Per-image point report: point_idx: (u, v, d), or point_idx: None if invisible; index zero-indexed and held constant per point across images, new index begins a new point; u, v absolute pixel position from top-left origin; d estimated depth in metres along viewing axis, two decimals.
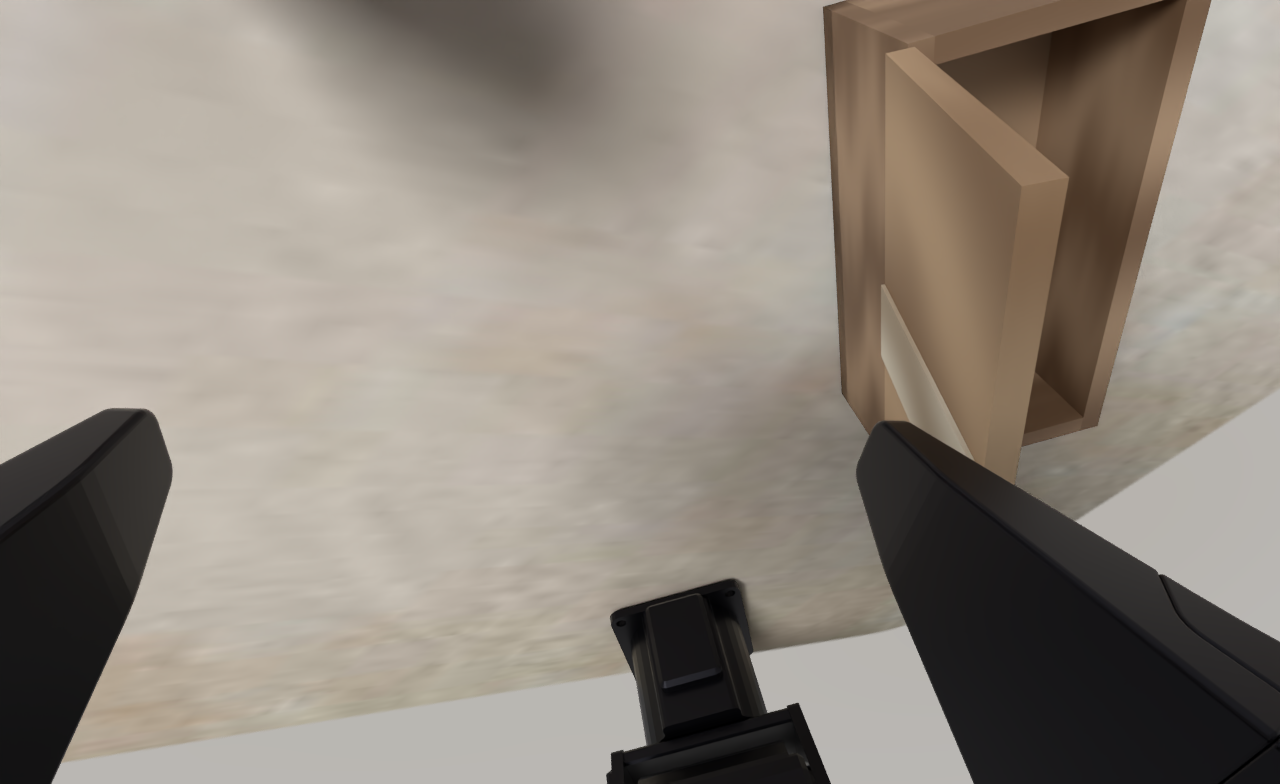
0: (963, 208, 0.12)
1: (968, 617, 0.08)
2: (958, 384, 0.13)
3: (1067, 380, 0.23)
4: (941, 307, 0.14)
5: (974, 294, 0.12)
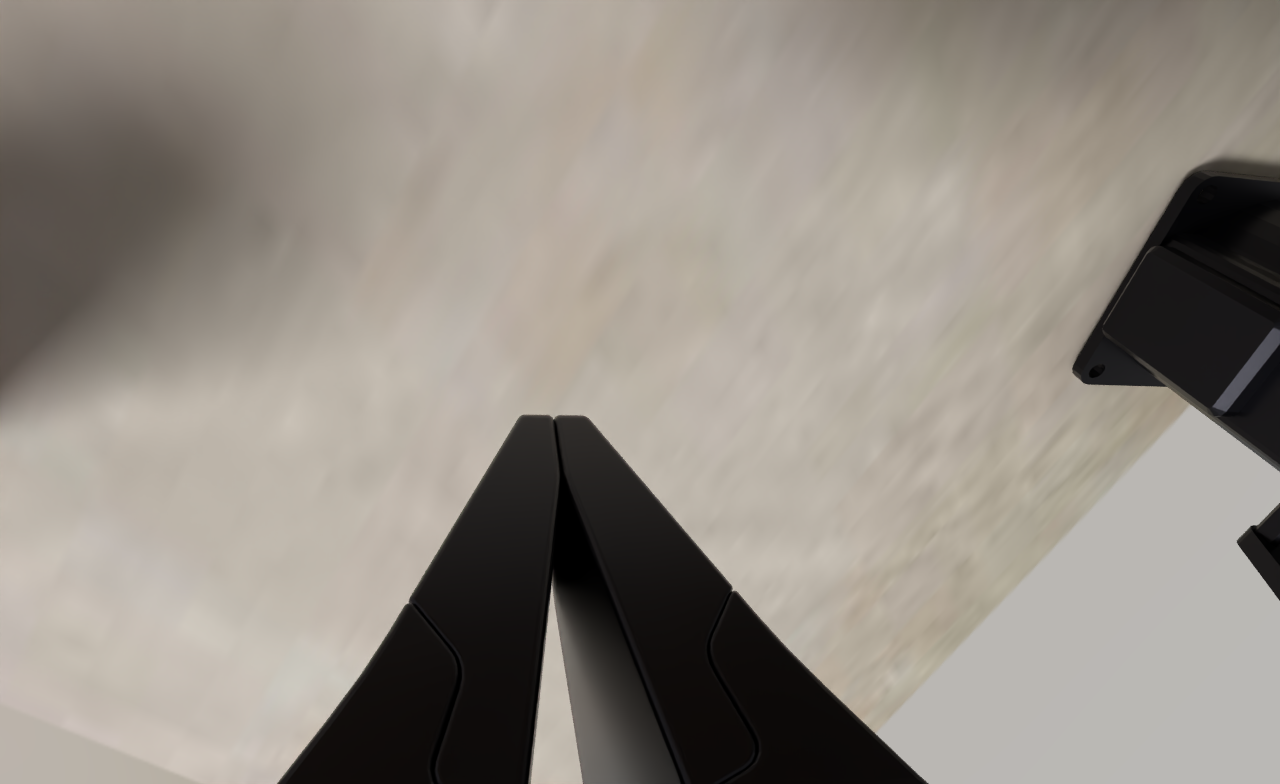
0: None
1: (579, 637, 0.07)
2: None
3: None
4: None
5: None
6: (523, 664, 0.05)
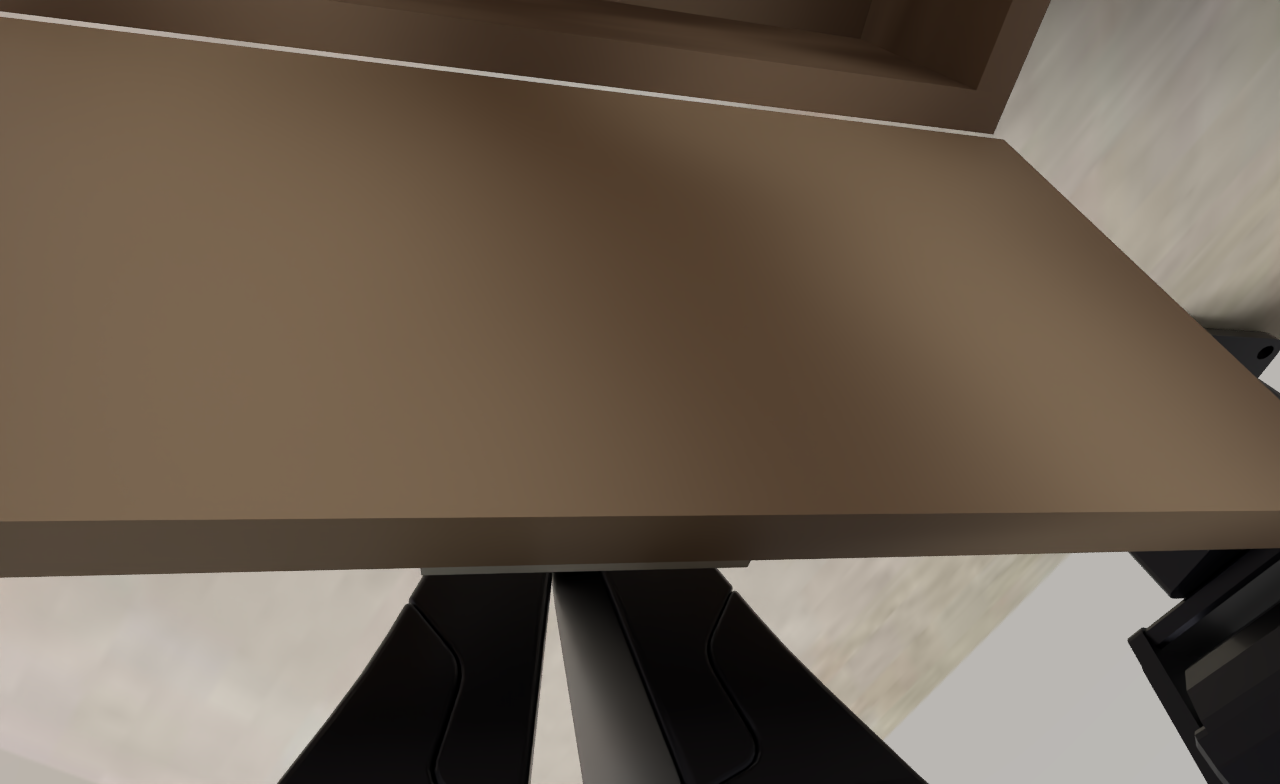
0: None
1: (579, 636, 0.07)
2: None
3: None
4: None
5: None
6: (523, 664, 0.05)
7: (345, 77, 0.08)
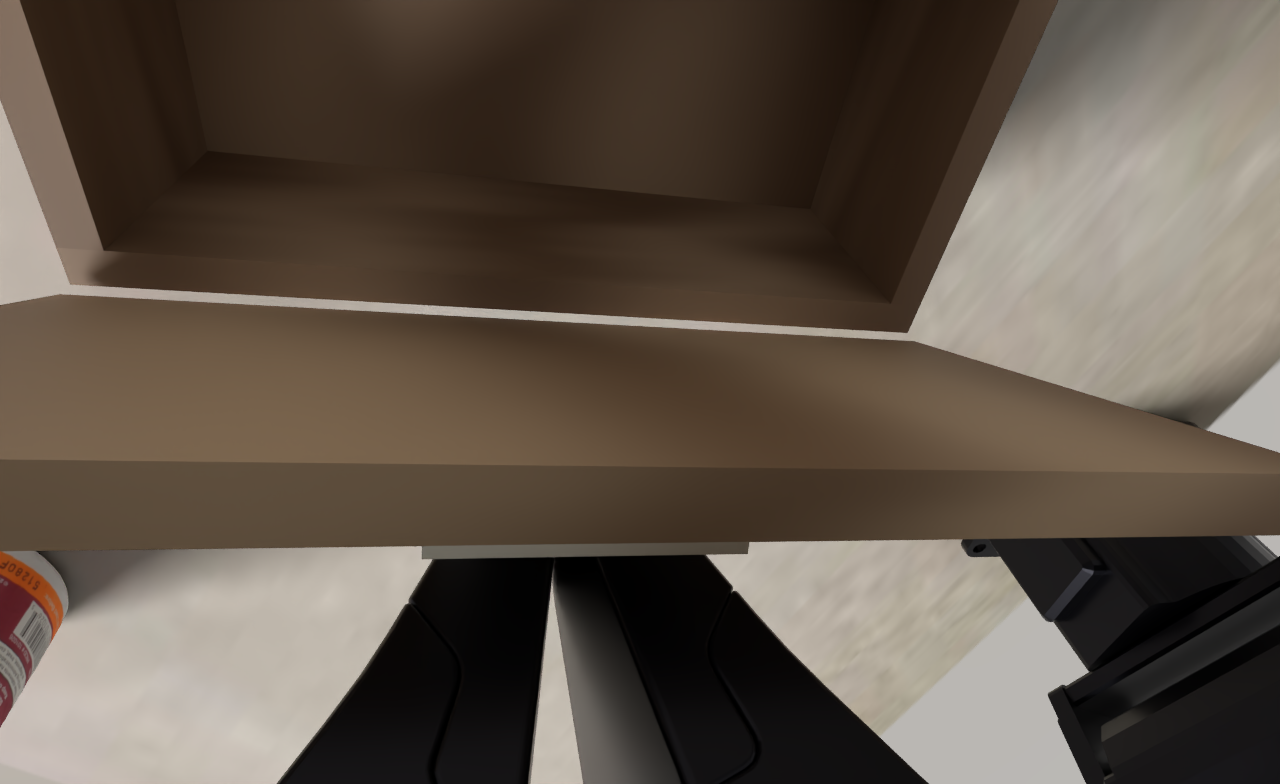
0: None
1: (579, 637, 0.07)
2: None
3: None
4: None
5: None
6: (523, 664, 0.05)
7: (369, 316, 0.10)
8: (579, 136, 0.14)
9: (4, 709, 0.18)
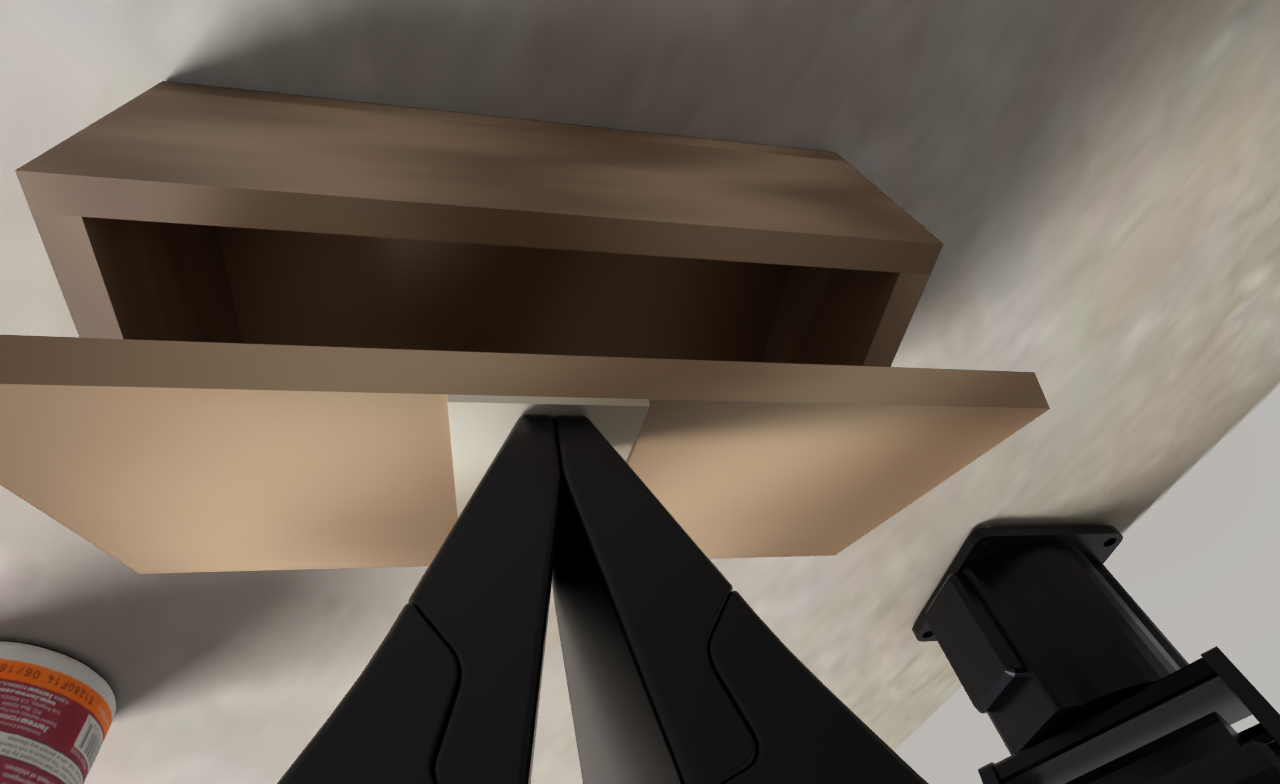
0: (80, 461, 0.09)
1: (579, 636, 0.07)
2: (373, 449, 0.09)
3: None
4: (307, 484, 0.10)
5: (164, 435, 0.08)
6: (523, 664, 0.05)
7: None
8: (555, 348, 0.17)
9: None
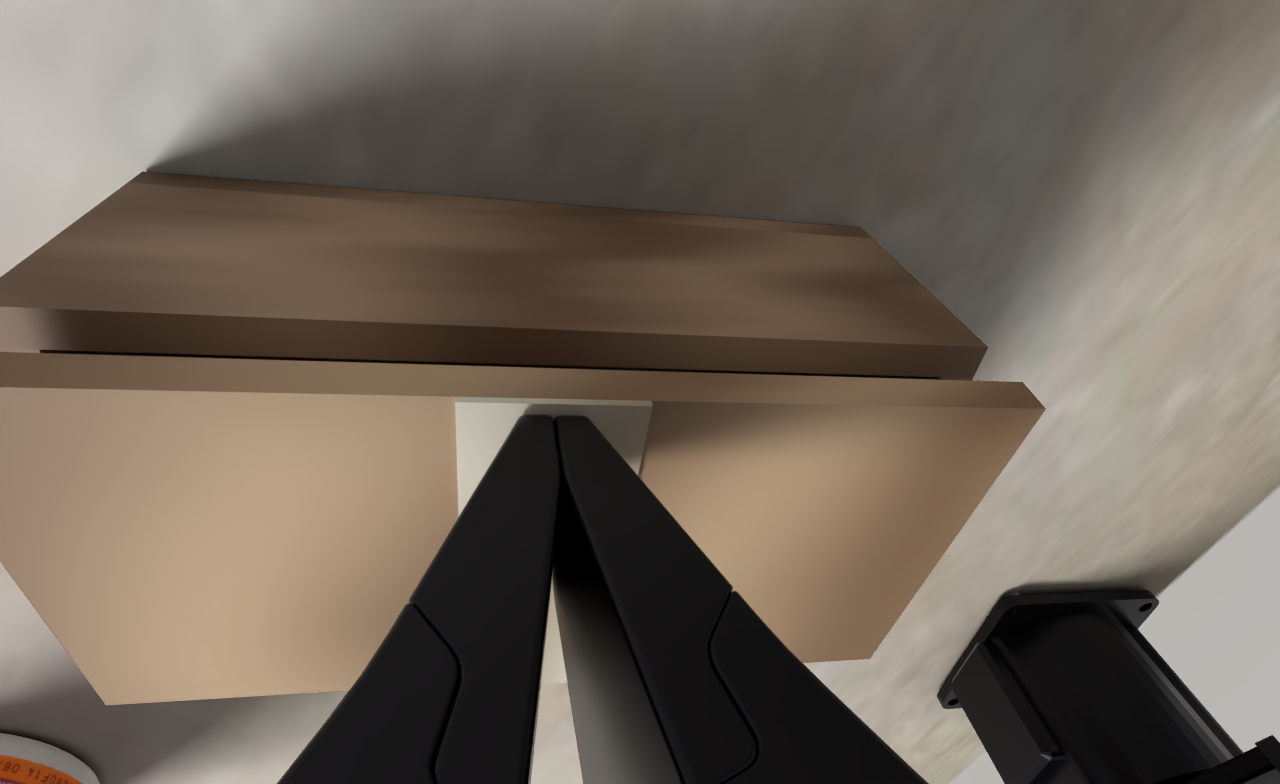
0: (79, 507, 0.09)
1: (579, 636, 0.07)
2: (377, 483, 0.09)
3: None
4: (306, 541, 0.10)
5: (171, 463, 0.08)
6: (523, 664, 0.05)
7: None
8: None
9: None
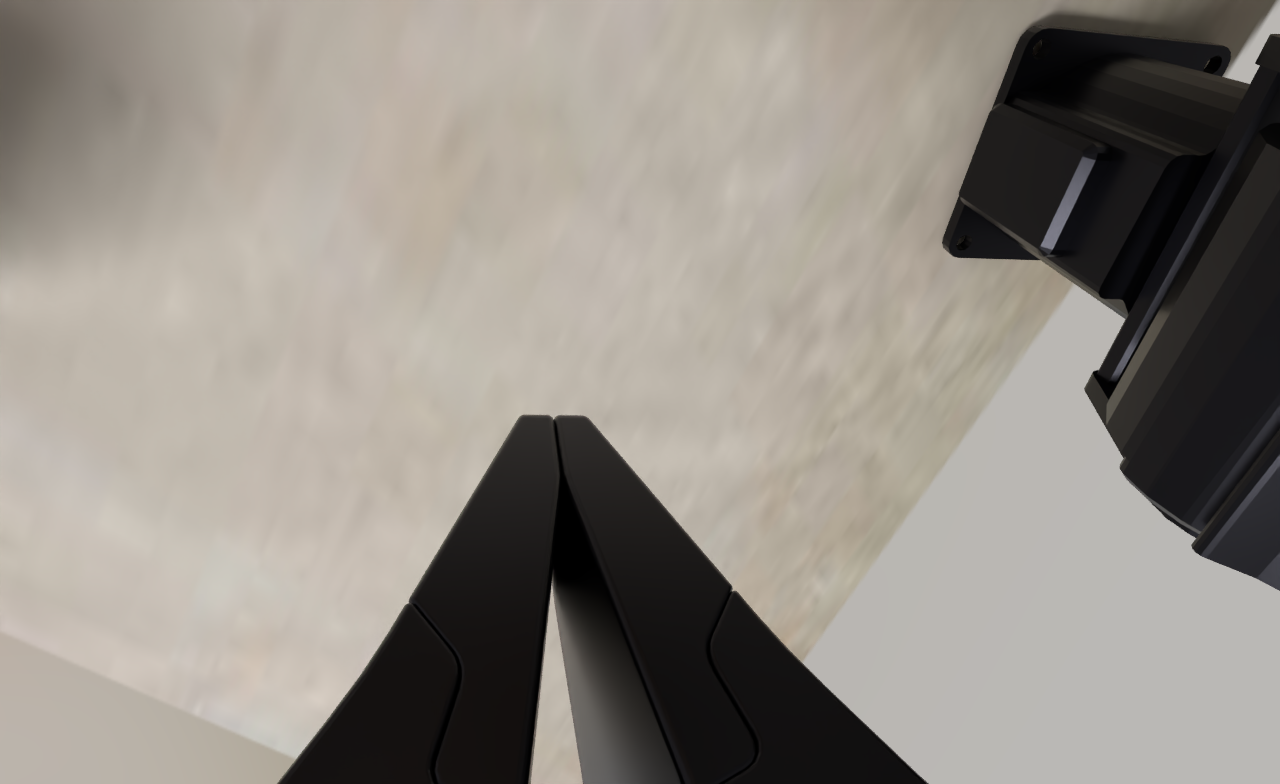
0: None
1: (579, 637, 0.07)
2: None
3: None
4: None
5: None
6: (523, 664, 0.05)
7: None
8: None
9: None
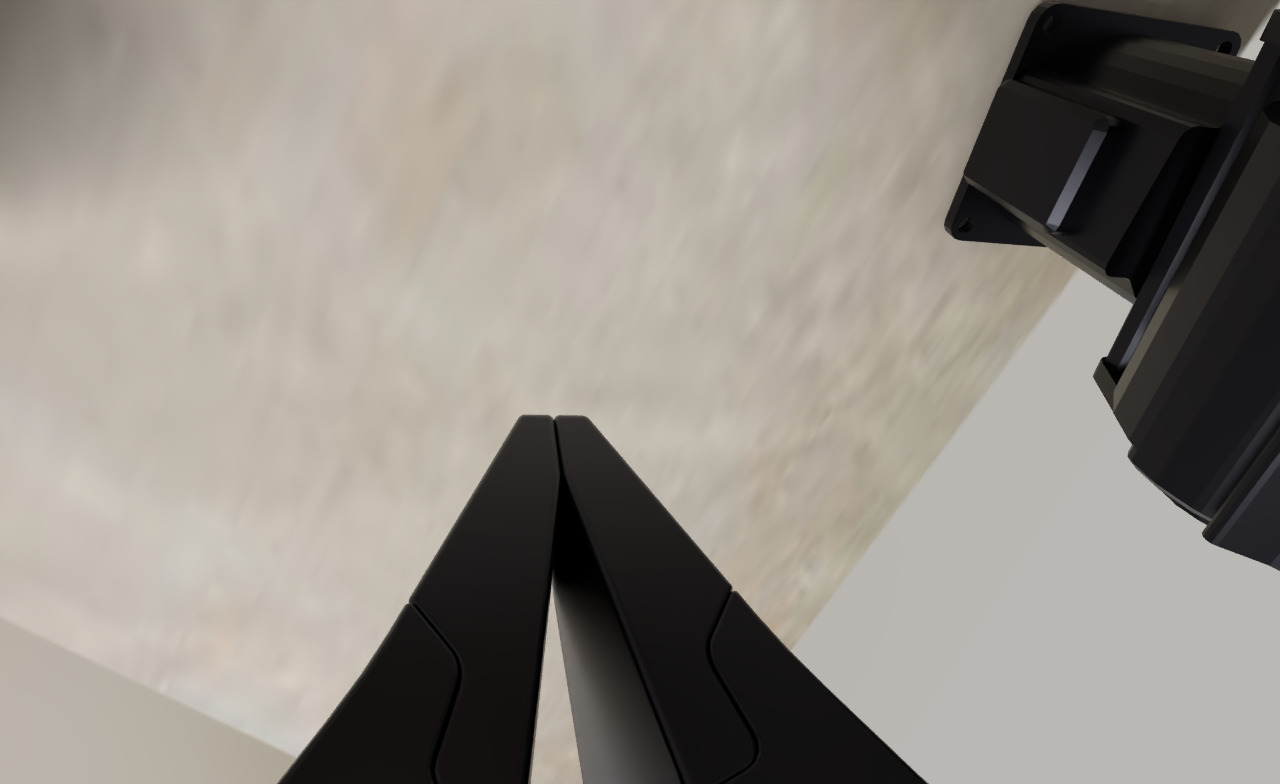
0: None
1: (579, 636, 0.07)
2: None
3: None
4: None
5: None
6: (523, 664, 0.05)
7: None
8: None
9: None
